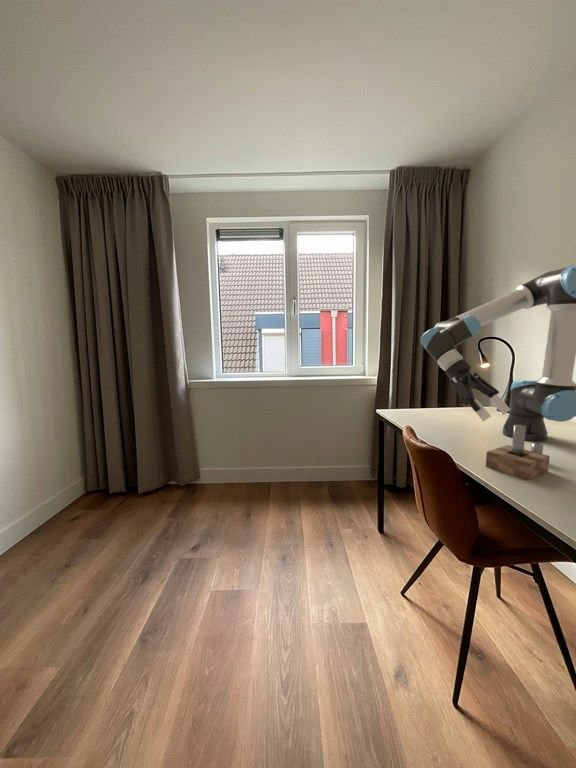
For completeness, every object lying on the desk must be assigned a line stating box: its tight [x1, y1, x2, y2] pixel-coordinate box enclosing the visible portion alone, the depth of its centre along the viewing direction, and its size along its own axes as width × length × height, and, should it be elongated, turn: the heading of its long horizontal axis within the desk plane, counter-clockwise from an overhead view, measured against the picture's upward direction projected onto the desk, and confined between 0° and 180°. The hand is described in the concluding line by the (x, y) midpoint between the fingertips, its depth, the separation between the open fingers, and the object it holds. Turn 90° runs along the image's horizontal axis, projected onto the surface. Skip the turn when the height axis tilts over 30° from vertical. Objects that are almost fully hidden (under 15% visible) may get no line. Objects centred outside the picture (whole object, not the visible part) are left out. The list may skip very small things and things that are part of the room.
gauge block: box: [485, 444, 550, 481], centre depth 103 cm, size 12×12×5 cm
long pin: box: [511, 424, 526, 457], centre depth 103 cm, size 3×3×14 cm
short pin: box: [530, 442, 544, 454], centre depth 109 cm, size 3×3×6 cm
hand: (497, 415), depth 106 cm, fingers open, 13 cm apart
